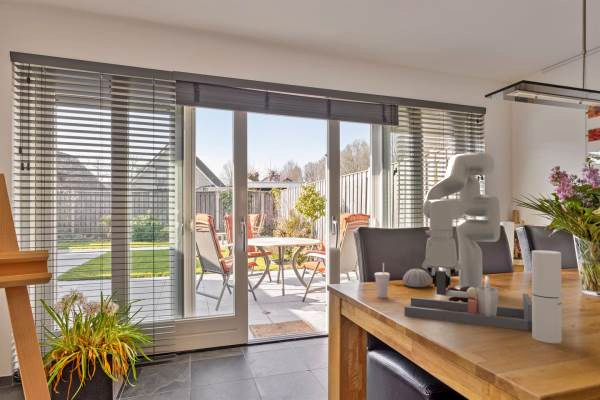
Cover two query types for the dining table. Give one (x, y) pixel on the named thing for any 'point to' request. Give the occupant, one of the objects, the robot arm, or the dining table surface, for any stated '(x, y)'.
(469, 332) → the dining table surface
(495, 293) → the drinking glass
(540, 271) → the cylindrical container
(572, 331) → the dining table surface
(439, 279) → the foosball rod
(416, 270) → the sea urchin shell
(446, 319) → the grey walled channel
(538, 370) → the dining table surface
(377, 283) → the smoothie
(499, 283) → the dining table surface
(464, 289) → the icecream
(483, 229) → the robot arm
